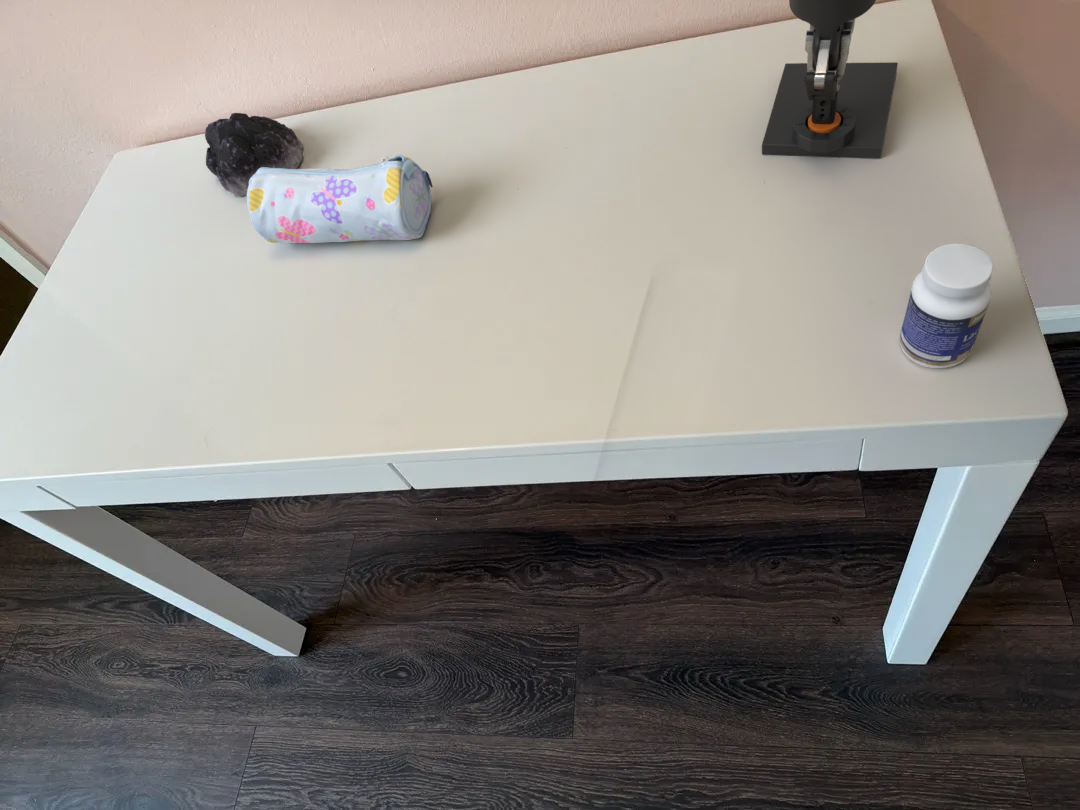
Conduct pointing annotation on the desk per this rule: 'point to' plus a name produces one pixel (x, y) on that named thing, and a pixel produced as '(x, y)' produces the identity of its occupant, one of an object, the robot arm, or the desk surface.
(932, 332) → the pill bottle
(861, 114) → the scale
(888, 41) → the desk surface
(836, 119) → the button
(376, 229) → the pencil case
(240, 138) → the crystal cluster
